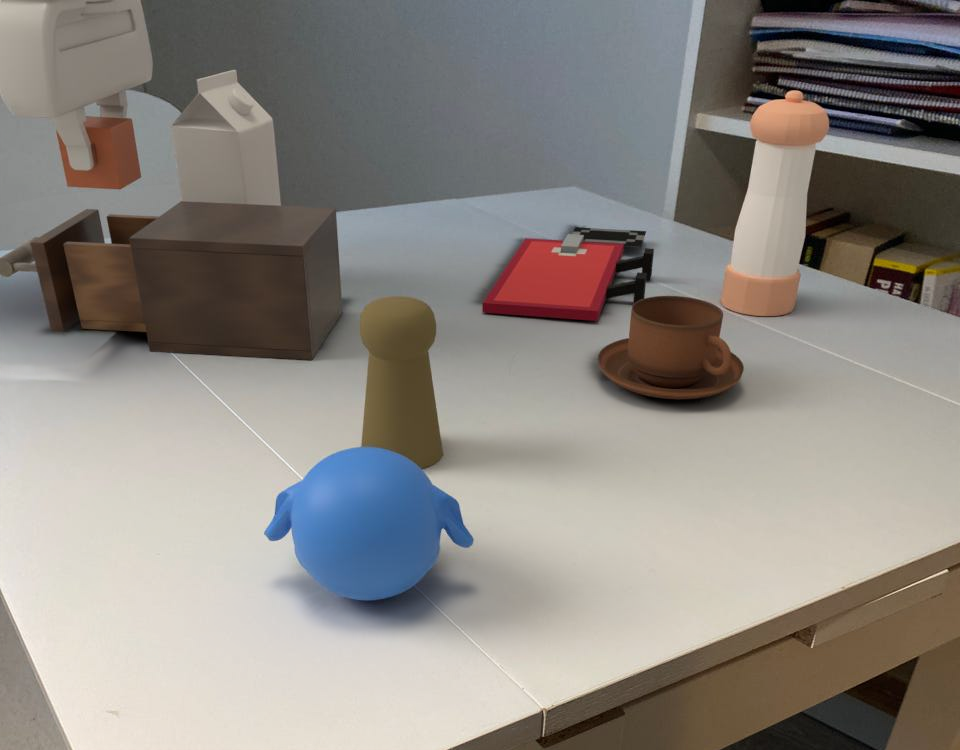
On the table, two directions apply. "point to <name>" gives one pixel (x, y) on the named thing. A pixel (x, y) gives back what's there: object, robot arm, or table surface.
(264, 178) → the milk carton
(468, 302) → the table surface
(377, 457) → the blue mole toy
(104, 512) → the table surface
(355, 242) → the table surface
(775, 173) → the pepper shaker
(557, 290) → the red board with handle
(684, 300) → the cup and saucer
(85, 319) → the drawer
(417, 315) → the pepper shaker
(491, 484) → the table surface
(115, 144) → the block
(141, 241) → the cabinet
